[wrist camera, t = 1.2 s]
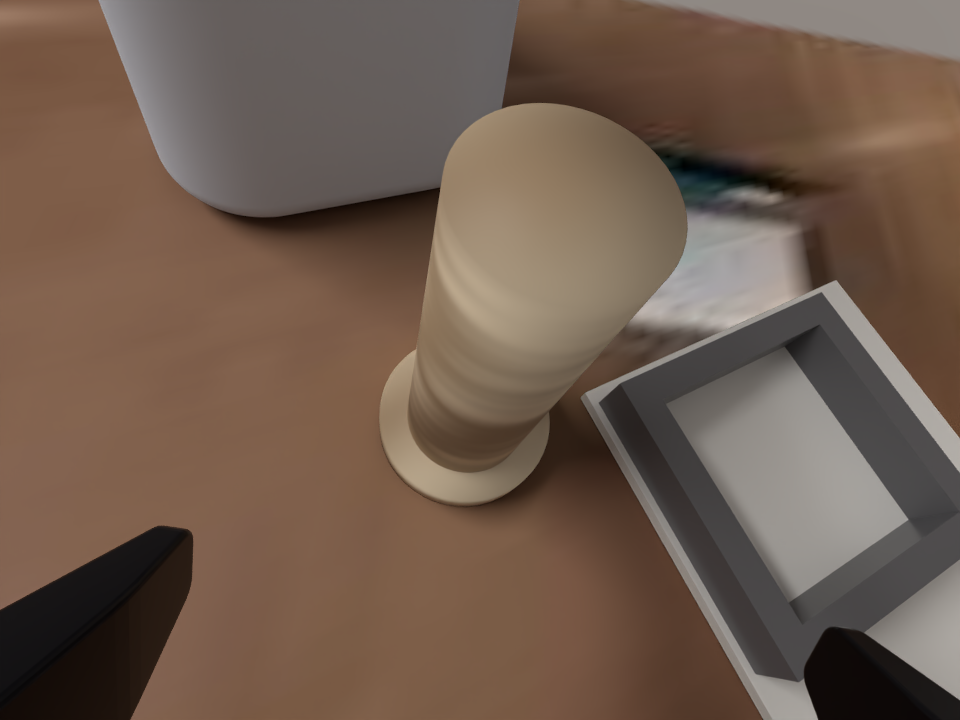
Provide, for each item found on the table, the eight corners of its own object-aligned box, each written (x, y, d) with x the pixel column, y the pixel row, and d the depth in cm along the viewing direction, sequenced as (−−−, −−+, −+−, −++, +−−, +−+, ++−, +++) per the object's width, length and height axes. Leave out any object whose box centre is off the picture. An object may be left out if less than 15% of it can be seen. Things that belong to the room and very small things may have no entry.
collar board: (1103, 645, 22) (1196, 650, 20) (858, 885, 18) (937, 933, 15) (827, 286, 28) (872, 254, 25) (580, 397, 23) (605, 372, 20)
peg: (569, 463, 22) (809, 289, 10) (420, 536, 20) (488, 432, 8) (496, 328, 24) (621, 40, 12) (353, 382, 22) (323, 103, 10)
